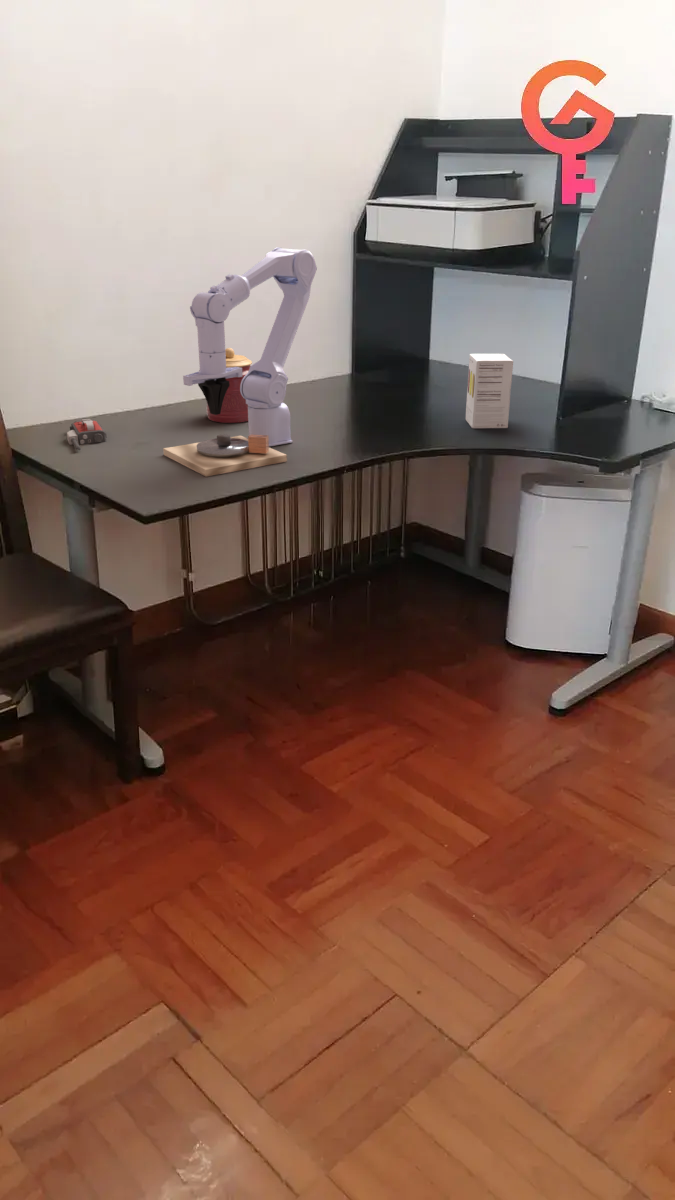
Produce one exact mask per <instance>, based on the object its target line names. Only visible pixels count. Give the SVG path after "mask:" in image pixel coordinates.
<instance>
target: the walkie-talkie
mask: <svg viewBox="0 0 675 1200" xmlns="http://www.w3.org/2000/svg"><path fill="white" fill-rule="evenodd" d="M107 438H108V437H107V432H106V430H105V429H104V428H103V426H102V424H100V422H99V421H98V420H95V419H91V418H86V419H85V418H83V419H80V420H76V421H74V422H72V423H71V426H69V431H67V432H66V439H67V442H68V444H69V445H73V446H74V448H75V449H76V450H77V451H80V450H81V446H80V445H84V444H85V445H86V444H95V443H105V442H107Z"/></svg>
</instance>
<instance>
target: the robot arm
mask: <svg viewBox="0 0 675 1200" xmlns="http://www.w3.org/2000/svg"><path fill="white" fill-rule="evenodd" d="M317 269H318V266H317V264H316V261H315V256H314V255H313V253H312V252H311V251H310V250H308V249H294V248H293V249H292V248H282V247H275V248H273V249H272V250H270V251H269V252H266V253H265V257H263V258H261V260H260V261H258V262H257V263H255V264H254V265H253V266H251V267H250V269H248V270H247V271H245V272H244V273H243V274H242V275H240V274H236V273H233V274H231V273H229V274H227V275H225V279H224V280H223V281H221V282H220V283H218V284H217V285H212V286H210V287H209V290H208V291H206V292H205V291H201V292H199V293H196V294H195V296H194V297H193V299H192V301H191V306H189V309H190V314H191V315H192V317H193V318H194V321H195V326H196V329H197V344H198V346H197V347H198V361H199V362H198V363H199V370H198V371H196V372H192V373H189V374H186V375H182V379H183V385H184V386H188V387H190V386H193V385H197V386H198V387H199V389H200V391H201V392H202V394H203V396H204V398H205V400H206V405H207V404H208V407H209V410H210V414H214V415H218V414H220V413H221V408H222V403H223V399H224V396H225V394H226V391H227V389H228V387H229V386H230V383H229V381H227V380H226V379H227V378H233V377H242V368H240V367H231V368H226V352H225V349H226V338H225V337H226V336H225V335H226V334H225V333H226V332H225V321H226V320H227V319H228V317H229V315H230V313H231V311H232V310H233V309H234V308H236V307H237V306H238V305H240V304H241V303H243V302H244V301H246V300H247V299H249V297H250V294H251V290H252V289H254V288H256V287H258V286H259V285H261V284H263V283H264V282H266V281H268V280H269V279H271V278H273V279H274V280H275V282H276V284H277V285H278V287H279V288H280V290H281V291H282V293H283V298H282V300H281V304H280V305H279V309H278V312H277V314H276V316H275V319H274V322H273V324H272V328H271V329H270V333H269V335H268V338H267V341H266V343H265V346H264V348H263V352H262V354H261V358H260V359H259V360H257V362H255V363H252V364H251V365H250V369H249V371H248V373H247V374H246V375H245V376H244V378H243V379H242V381H241V384H240V392H241V395H242V397H243V398H244V399H246V404H248V421H247V423H248V436H250V435H251V434H252V435H268V438H269V447H274V446H279V445H286V444H291V443H293V439H292V438H291V437H292V436H291V435H292V434H291V431H292V430H291V412H290V410H289V406H287V404H286V403H285V402H284V400H285V397H286V394H287V384H288V381H289V377H288V376H287V375H288V374H286V372H285V370H284V367H285V364H286V361H287V359H288V355H289V353H290V351H291V348H292V345H293V343H294V339H295V337H296V335H297V333H298V329H299V326H300V324H301V322H302V319H303V317H304V316H303V315H304V313H305V310H306V307H307V304H308V302H309V299H310V294H311V287H312V284H313V282H314V278H315V275H316V274H317Z"/></svg>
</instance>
